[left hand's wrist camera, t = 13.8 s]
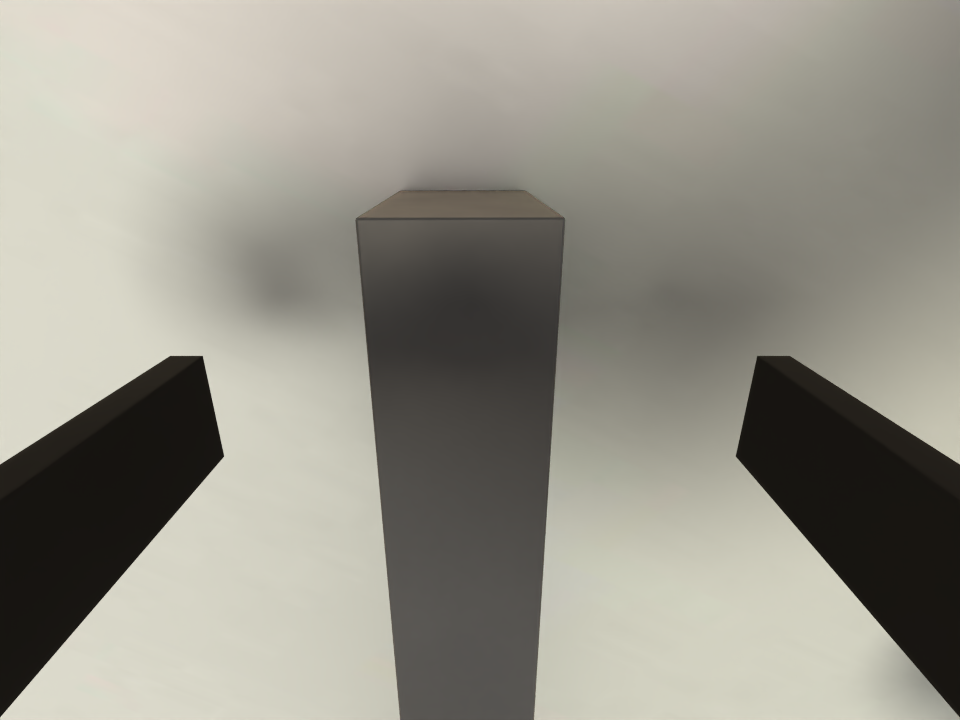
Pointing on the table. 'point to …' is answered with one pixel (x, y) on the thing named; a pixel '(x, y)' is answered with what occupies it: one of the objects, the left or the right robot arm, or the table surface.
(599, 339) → the table surface
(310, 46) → the table surface
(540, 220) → the beam
